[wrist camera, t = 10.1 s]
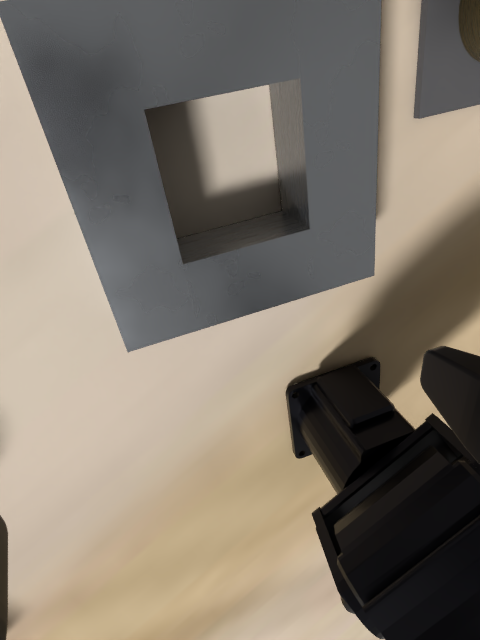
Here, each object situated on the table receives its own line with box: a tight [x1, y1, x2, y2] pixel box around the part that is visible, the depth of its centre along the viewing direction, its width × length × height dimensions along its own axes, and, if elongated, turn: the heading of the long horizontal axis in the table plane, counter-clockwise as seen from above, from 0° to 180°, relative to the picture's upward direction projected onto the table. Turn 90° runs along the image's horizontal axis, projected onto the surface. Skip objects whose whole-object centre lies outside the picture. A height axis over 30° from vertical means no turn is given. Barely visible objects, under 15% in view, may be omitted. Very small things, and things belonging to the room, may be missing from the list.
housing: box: [0, 0, 381, 352], centre depth 17 cm, size 12×12×3 cm
